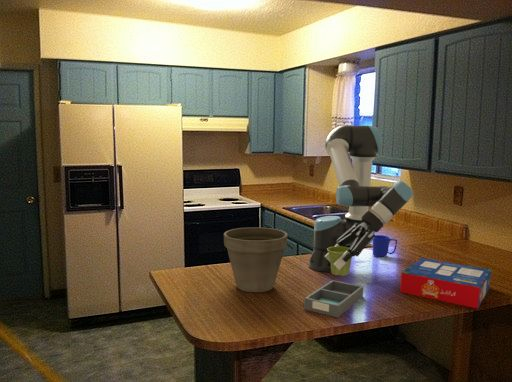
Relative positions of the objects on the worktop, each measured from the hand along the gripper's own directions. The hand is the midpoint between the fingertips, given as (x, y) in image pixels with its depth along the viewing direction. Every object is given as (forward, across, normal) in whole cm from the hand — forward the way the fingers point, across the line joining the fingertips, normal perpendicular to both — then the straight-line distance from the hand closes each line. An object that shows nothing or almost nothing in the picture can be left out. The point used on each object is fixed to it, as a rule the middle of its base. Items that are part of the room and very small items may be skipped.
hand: (331, 262), depth 163 cm
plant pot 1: (+28, +23, +6) cm, 37 cm away
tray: (+9, +4, -13) cm, 17 cm away
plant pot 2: (+1, 0, -5) cm, 5 cm away
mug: (-23, +64, -46) cm, 82 cm away
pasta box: (-35, +24, -53) cm, 68 cm away
